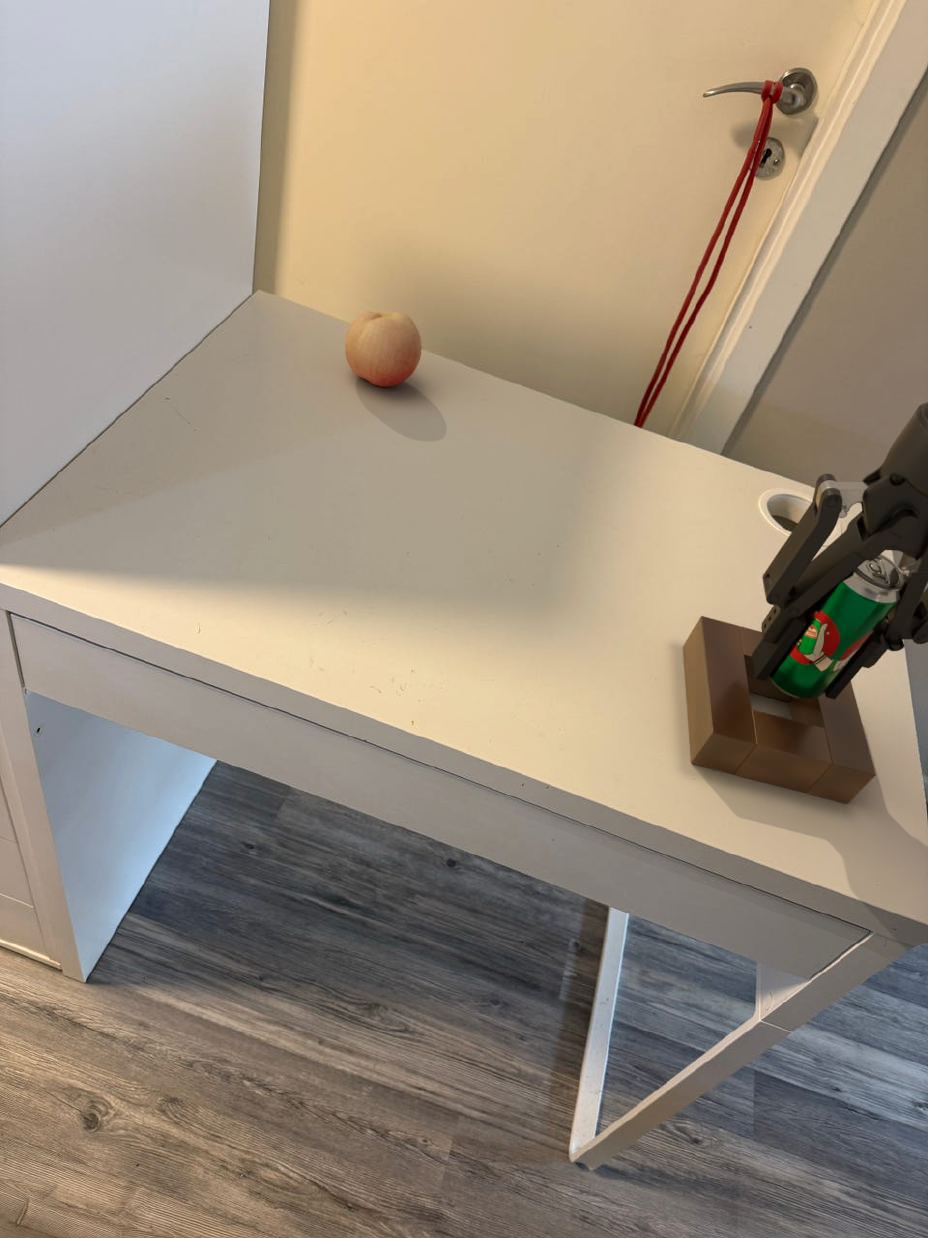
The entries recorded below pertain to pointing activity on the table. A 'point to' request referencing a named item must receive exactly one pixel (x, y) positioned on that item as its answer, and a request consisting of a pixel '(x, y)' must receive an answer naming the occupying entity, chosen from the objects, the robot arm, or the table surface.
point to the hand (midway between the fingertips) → (793, 676)
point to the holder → (768, 721)
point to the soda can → (838, 628)
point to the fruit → (383, 347)
